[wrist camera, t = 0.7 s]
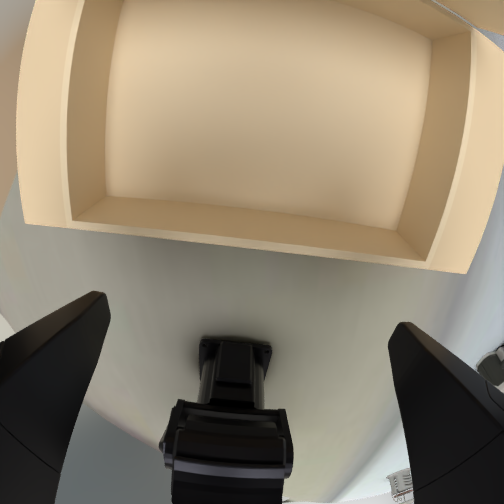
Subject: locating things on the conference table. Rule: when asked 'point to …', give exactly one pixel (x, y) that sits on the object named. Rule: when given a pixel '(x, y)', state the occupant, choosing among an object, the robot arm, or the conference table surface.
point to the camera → (493, 368)
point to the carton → (264, 125)
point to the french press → (401, 484)
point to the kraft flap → (480, 13)
